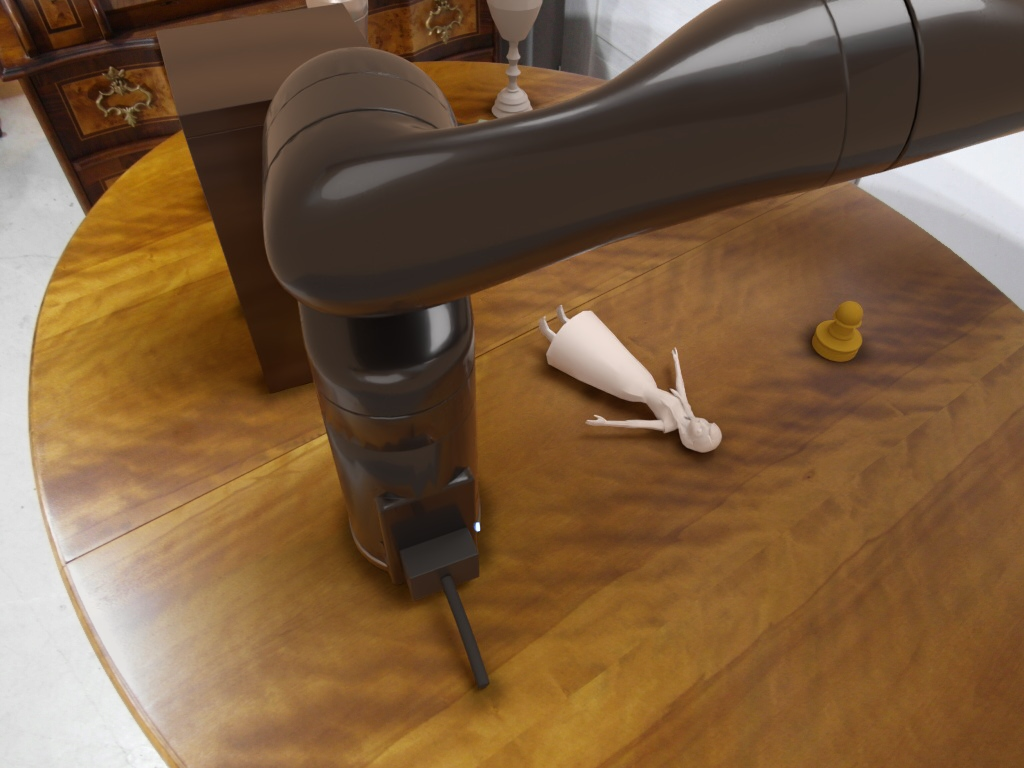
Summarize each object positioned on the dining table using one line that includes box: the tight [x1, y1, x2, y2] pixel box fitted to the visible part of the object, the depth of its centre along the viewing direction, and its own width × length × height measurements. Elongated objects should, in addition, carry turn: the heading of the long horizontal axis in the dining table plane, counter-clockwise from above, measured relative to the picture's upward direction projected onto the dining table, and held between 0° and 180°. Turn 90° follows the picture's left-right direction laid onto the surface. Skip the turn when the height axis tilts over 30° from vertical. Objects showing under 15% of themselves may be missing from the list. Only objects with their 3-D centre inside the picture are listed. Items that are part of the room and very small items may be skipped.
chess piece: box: [811, 300, 864, 363], centre depth 67 cm, size 4×4×5 cm
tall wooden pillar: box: [155, 3, 372, 394], centre depth 60 cm, size 12×13×25 cm
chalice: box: [486, 0, 544, 119], centre depth 88 cm, size 7×7×18 cm
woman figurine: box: [538, 304, 723, 453], centre depth 64 cm, size 12×4×18 cm
